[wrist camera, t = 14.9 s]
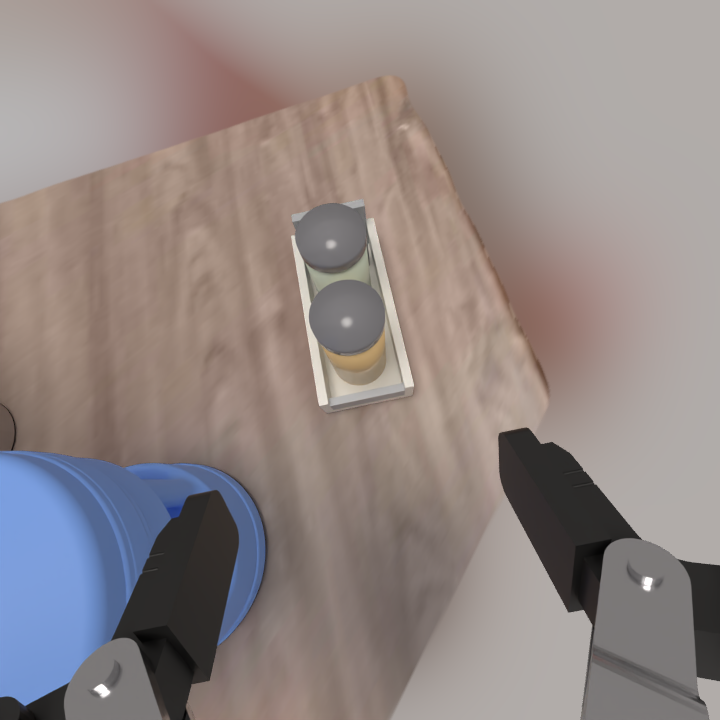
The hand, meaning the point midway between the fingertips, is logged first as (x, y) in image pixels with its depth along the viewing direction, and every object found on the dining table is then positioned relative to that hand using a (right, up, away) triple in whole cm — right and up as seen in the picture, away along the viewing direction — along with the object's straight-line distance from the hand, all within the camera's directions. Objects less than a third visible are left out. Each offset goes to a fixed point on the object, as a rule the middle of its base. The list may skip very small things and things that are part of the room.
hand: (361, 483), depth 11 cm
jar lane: (-1, +7, +29) cm, 30 cm away
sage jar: (-1, +10, +29) cm, 31 cm away
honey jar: (0, +4, +27) cm, 27 cm away
